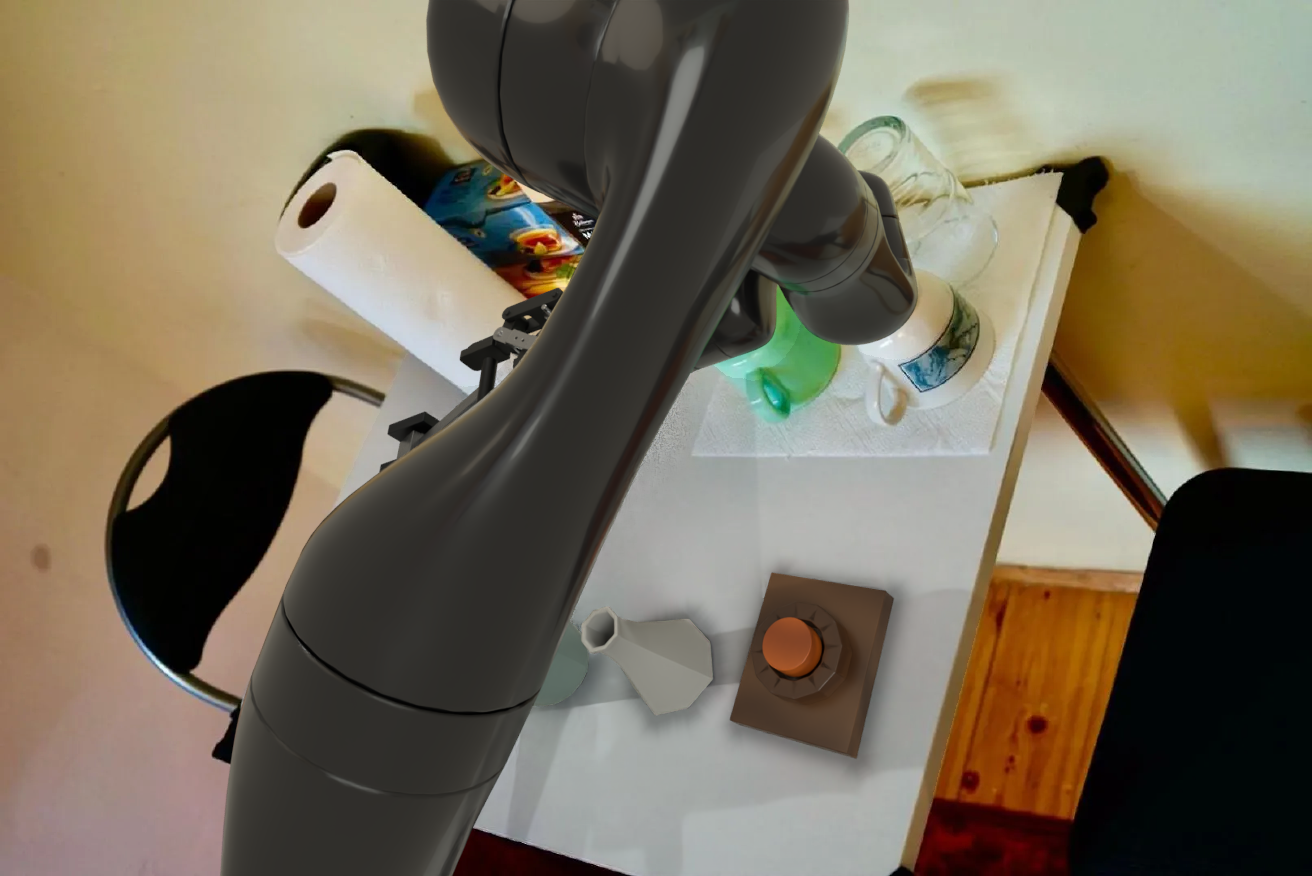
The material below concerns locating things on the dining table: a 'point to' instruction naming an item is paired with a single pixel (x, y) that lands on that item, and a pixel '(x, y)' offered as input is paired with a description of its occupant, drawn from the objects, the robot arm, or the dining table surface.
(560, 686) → the cup
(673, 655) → the flask
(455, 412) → the press lever
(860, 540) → the dining table surface
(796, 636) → the button
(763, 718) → the brown button mount
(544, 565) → the robot arm
